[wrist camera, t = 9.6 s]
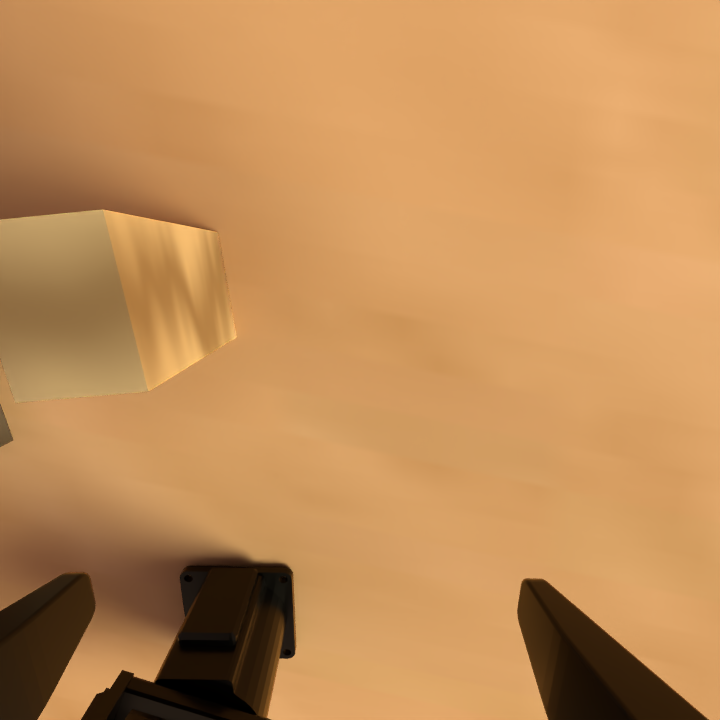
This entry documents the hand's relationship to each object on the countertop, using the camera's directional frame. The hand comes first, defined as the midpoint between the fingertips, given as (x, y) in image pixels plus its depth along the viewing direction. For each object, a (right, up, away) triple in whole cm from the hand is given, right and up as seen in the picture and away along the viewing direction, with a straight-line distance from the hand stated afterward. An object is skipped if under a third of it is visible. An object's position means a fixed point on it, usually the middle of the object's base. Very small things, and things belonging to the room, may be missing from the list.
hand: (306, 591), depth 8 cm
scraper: (-12, +8, +10) cm, 18 cm away
